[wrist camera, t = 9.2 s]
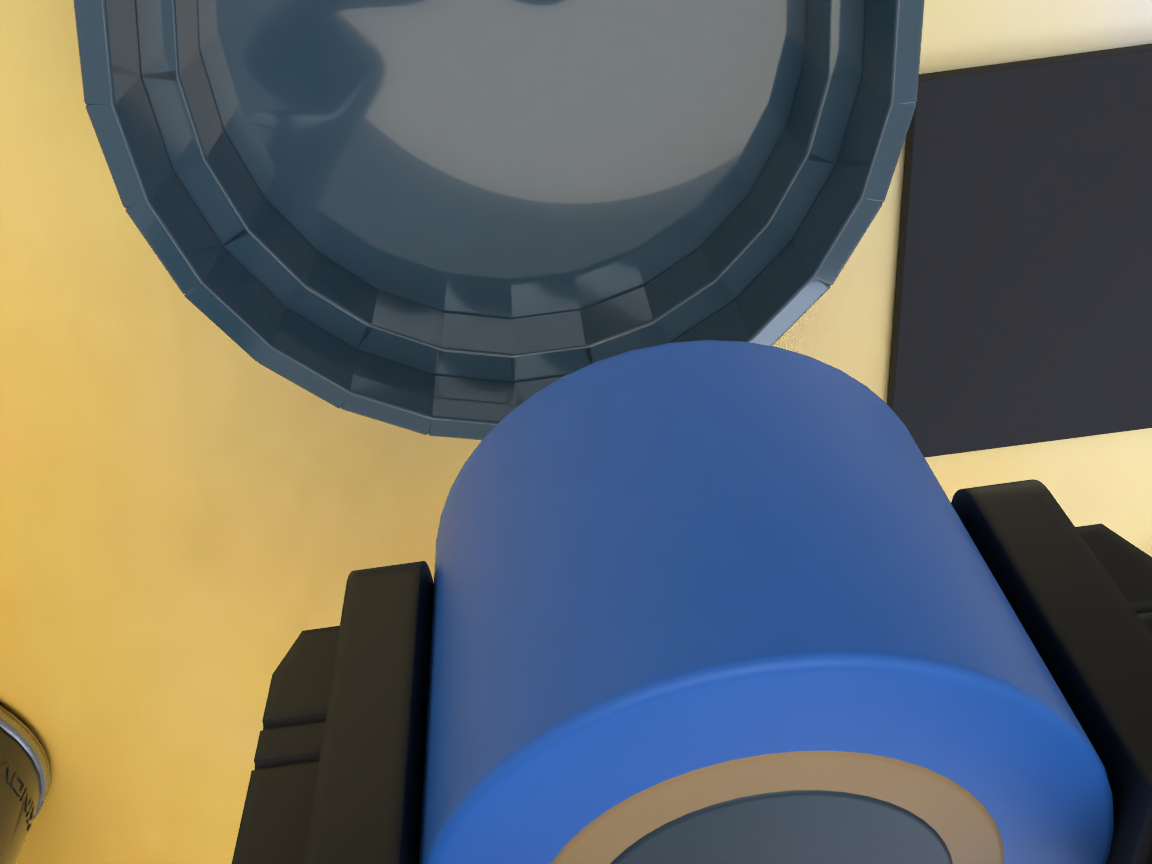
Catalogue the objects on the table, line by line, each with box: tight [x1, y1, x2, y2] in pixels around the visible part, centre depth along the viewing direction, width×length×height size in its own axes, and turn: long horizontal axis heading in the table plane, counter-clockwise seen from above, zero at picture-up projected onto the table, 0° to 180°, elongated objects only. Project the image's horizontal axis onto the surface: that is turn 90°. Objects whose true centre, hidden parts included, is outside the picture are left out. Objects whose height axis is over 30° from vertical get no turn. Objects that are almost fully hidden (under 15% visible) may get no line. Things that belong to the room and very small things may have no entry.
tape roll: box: [419, 340, 1114, 864], centre depth 10 cm, size 5×5×4 cm
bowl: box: [74, 0, 924, 440], centre depth 24 cm, size 17×17×4 cm
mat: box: [888, 44, 1152, 457], centre depth 30 cm, size 12×12×1 cm
